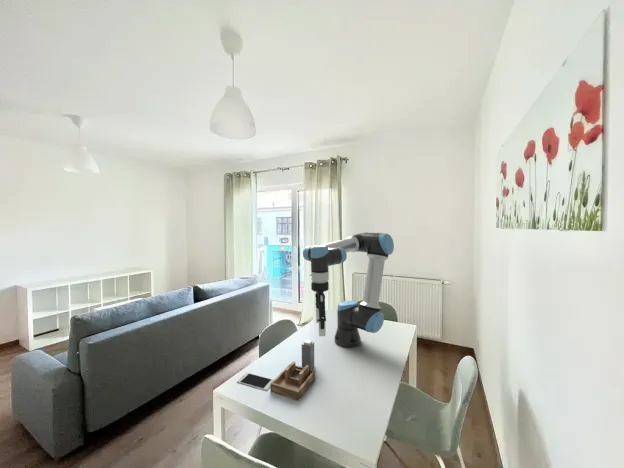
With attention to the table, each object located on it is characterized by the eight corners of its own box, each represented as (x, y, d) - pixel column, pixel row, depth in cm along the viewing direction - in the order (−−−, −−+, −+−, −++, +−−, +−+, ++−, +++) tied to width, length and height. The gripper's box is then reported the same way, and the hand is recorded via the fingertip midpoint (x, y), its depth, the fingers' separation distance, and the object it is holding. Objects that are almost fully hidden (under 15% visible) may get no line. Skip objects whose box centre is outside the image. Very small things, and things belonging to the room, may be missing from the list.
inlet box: (290, 371, 120) (289, 358, 120) (315, 378, 115) (315, 365, 114) (270, 391, 106) (270, 377, 105) (298, 400, 100) (298, 386, 100)
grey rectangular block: (306, 364, 126) (305, 338, 125) (314, 366, 124) (314, 340, 123) (301, 369, 122) (301, 342, 121) (310, 371, 120) (310, 344, 119)
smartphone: (267, 392, 106) (267, 389, 106) (236, 383, 112) (236, 381, 112) (275, 382, 113) (275, 379, 113) (246, 374, 119) (246, 372, 119)
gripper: (309, 275, 124) (310, 318, 125) (313, 289, 99) (314, 342, 100) (325, 274, 124) (325, 317, 125) (332, 288, 99) (333, 341, 101)
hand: (320, 328), depth 113 cm, fingers open, 13 cm apart
